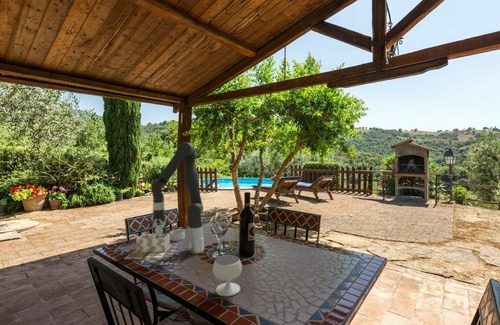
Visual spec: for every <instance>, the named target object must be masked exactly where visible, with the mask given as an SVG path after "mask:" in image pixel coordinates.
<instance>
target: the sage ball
mask: <svg viewBox="0 0 500 325" xmlns="http://www.w3.org/2000/svg"><path fill="white" fill-rule="evenodd" d="M155 227H156V228H155V232H156V233H155V234H164V233H163V226H162V224H160V225H156V226H155Z"/></svg>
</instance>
